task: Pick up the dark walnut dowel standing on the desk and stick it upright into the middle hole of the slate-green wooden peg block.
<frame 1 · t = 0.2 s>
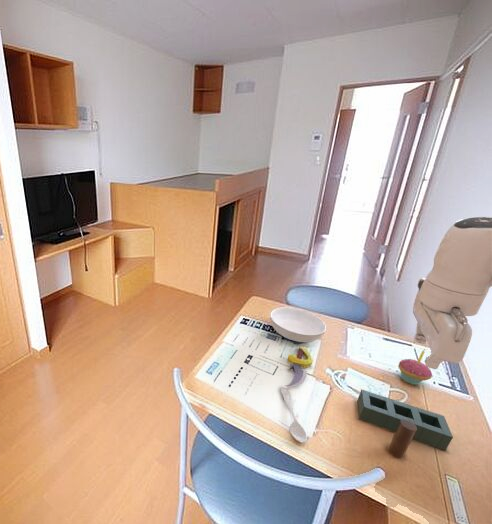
hand: (424, 353, 66), 33 cm above the table, tool pointing down, fingers open, 8 cm apart
knife: (297, 369, 108), on the table
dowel: (395, 452, 80), on the table
spoon: (291, 415, 90), on the table
peg block: (397, 424, 88), on the table
cupcake: (410, 380, 104), on the table
serving bowl: (294, 333, 128), on the table
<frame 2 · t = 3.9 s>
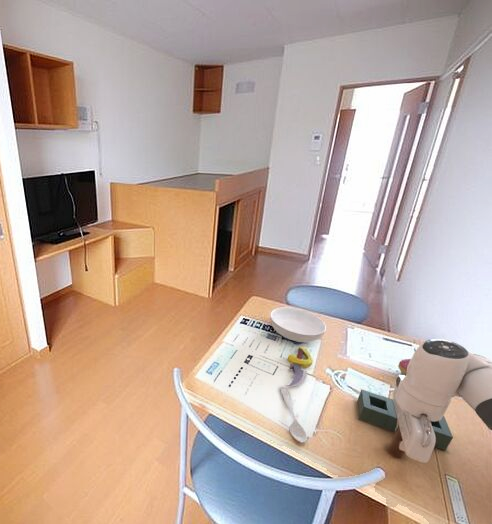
hand: (400, 441, 78), 4 cm above the table, tool pointing down, fingers closed on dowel, 3 cm apart
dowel: (395, 452, 80), on the table, touching gripper
everything else where it was.
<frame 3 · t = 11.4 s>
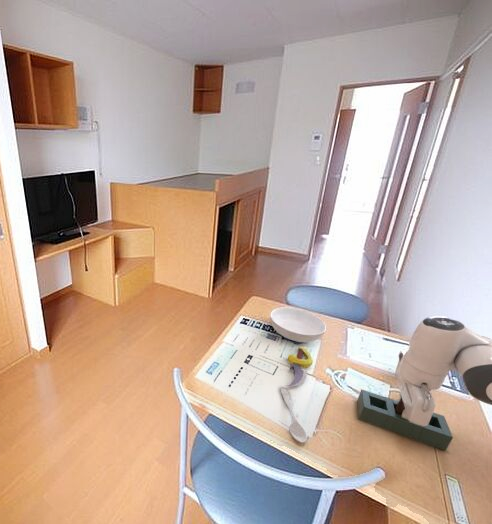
hand: (403, 410, 86), 5 cm above the table, tool pointing down, fingers closed on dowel, 3 cm apart
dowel: (398, 421, 87), point 1 cm above the table, touching gripper
everything else where it was.
when the fingers open (6 cm above the table, at t = 17.2 s): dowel drops 2 cm, resting in peg block.
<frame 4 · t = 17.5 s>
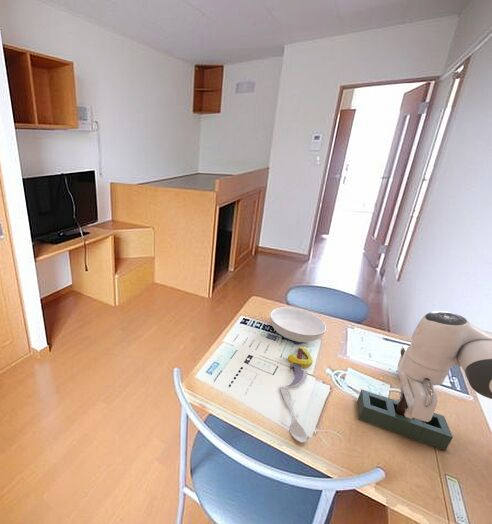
hand: (405, 407, 85), 7 cm above the table, tool pointing down, fingers open, 5 cm apart
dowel: (397, 424, 87), resting in peg block
everything else where it was.
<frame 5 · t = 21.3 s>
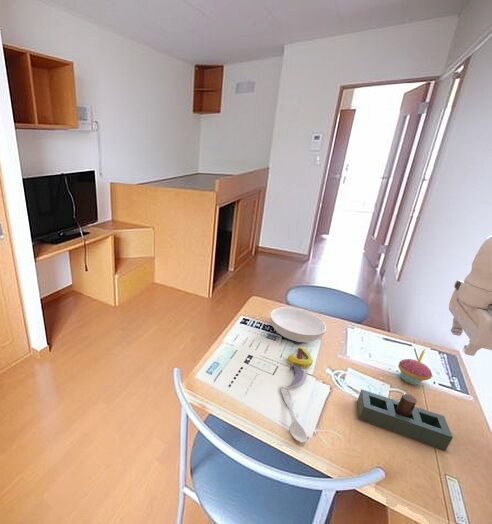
hand: (461, 343, 79), 27 cm above the table, tool pointing down, fingers open, 8 cm apart
nothing on the table moved.
at the end: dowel 0.1 cm off-centre in the peg block, point 0.0 cm above the peg block's base; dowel tilted 0°; the gripper is holding nothing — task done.
